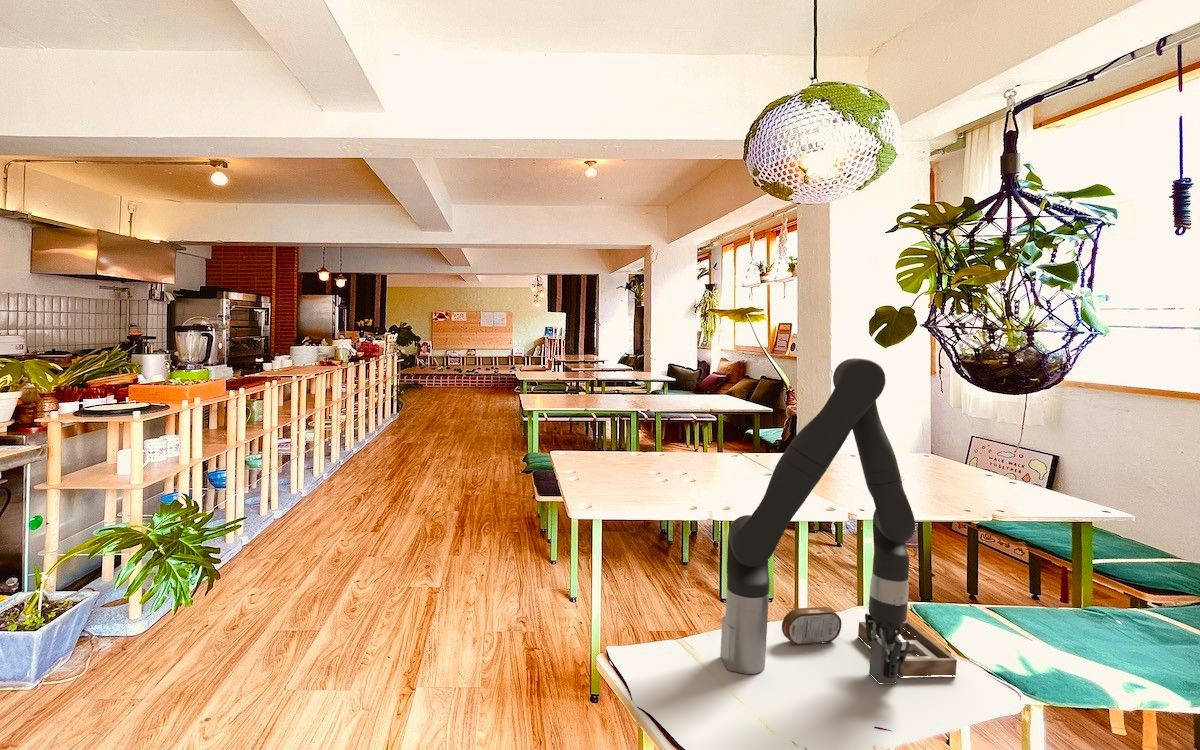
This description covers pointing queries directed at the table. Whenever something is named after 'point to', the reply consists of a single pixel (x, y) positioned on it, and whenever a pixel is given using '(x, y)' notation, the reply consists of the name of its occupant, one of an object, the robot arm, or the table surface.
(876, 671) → the connector
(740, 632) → the robot arm
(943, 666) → the box
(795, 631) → the tin
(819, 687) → the table surface
